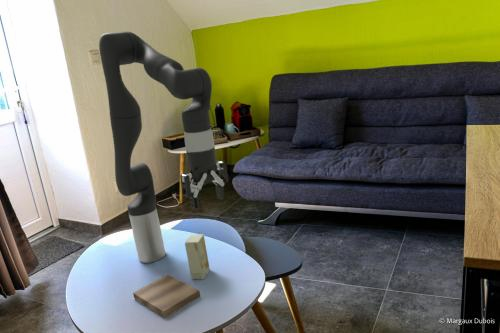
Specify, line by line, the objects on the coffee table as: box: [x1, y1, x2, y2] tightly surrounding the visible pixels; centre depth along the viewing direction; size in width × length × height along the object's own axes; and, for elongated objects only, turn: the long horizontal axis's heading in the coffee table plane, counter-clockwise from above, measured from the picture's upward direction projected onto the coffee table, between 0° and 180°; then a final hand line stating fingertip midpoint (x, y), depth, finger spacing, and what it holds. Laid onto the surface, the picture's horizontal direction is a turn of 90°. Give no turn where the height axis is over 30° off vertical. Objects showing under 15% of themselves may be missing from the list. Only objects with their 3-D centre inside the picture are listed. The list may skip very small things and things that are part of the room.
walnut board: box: [132, 274, 201, 319], centre depth 123 cm, size 16×12×2 cm
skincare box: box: [184, 233, 211, 280], centre depth 132 cm, size 6×4×12 cm
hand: (208, 204), depth 117 cm, fingers open, 8 cm apart
